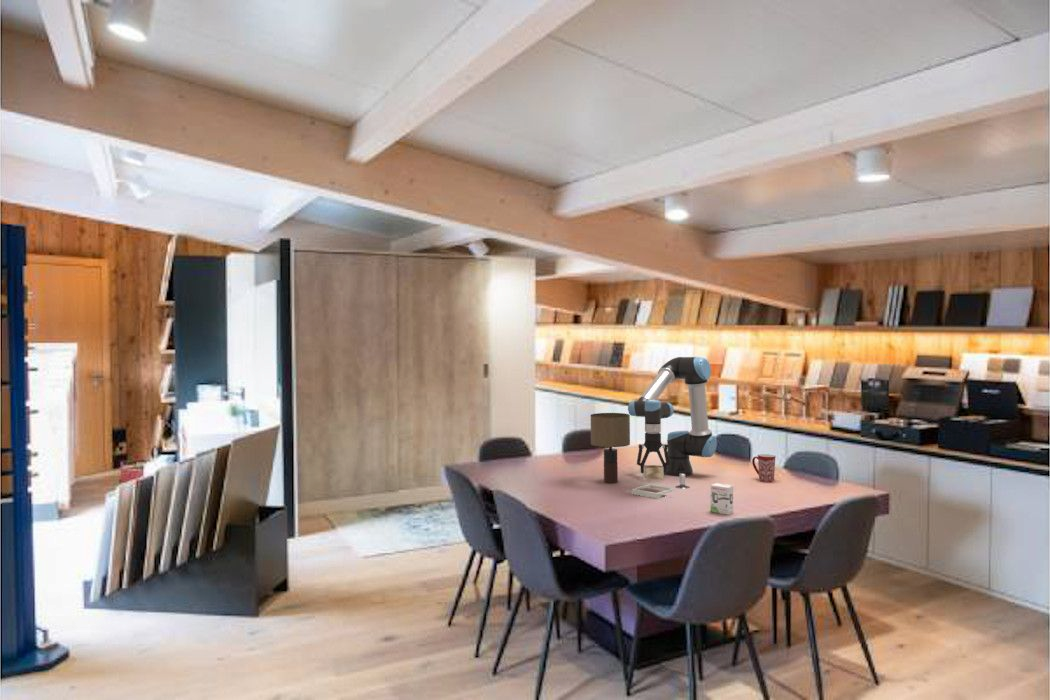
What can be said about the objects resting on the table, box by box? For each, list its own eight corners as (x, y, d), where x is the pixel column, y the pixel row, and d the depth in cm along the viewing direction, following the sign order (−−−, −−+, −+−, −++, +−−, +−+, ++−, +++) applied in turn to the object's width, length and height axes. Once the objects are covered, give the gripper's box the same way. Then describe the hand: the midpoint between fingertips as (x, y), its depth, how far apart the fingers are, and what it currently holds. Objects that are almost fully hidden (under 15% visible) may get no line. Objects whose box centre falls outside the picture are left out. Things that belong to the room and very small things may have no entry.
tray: (631, 494, 344) (631, 489, 344) (649, 488, 354) (649, 484, 354) (657, 498, 333) (657, 493, 333) (675, 493, 344) (675, 488, 344)
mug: (779, 481, 368) (779, 454, 368) (769, 483, 363) (768, 457, 363) (758, 477, 379) (758, 451, 378) (748, 479, 373) (747, 453, 373)
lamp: (593, 477, 384) (592, 412, 383) (631, 478, 380) (630, 413, 379) (589, 485, 364) (588, 417, 363) (629, 486, 360) (628, 417, 359)
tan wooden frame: (646, 478, 339) (646, 468, 339) (642, 474, 349) (642, 464, 349) (663, 478, 339) (663, 468, 339) (659, 474, 349) (659, 464, 349)
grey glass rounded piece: (672, 490, 351) (672, 473, 351) (680, 487, 356) (680, 471, 356) (684, 492, 346) (684, 475, 346) (692, 489, 351) (692, 473, 351)
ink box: (710, 511, 308) (709, 484, 308) (715, 509, 312) (715, 482, 311) (728, 515, 302) (728, 487, 302) (733, 512, 306) (733, 485, 306)
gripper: (632, 433, 339) (632, 481, 340) (676, 433, 339) (676, 481, 340) (629, 431, 347) (630, 478, 347) (672, 431, 347) (673, 477, 347)
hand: (653, 479), depth 343 cm, fingers closed on tan wooden frame, 8 cm apart
